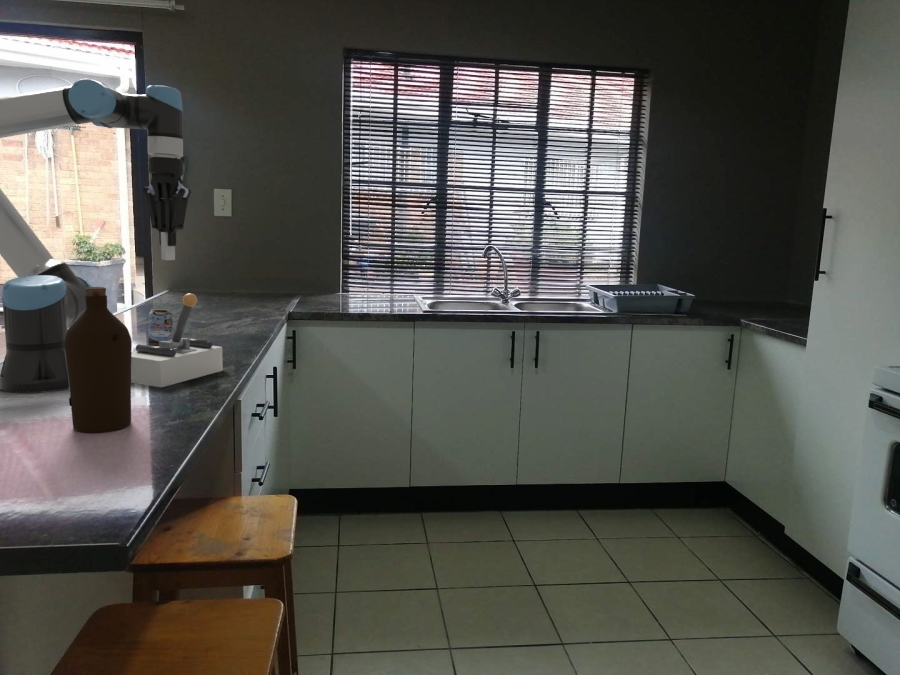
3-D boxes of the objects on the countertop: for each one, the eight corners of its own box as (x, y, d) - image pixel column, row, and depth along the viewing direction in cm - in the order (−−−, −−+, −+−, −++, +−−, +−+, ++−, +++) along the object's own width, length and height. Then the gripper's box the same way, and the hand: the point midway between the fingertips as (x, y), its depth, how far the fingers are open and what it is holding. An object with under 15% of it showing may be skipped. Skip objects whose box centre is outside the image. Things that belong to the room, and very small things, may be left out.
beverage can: (146, 353, 185) (145, 310, 183) (151, 348, 192) (149, 306, 190) (171, 353, 187) (170, 310, 185) (174, 348, 194) (173, 306, 192)
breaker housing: (161, 387, 150) (159, 350, 149) (117, 380, 155) (115, 344, 154) (222, 370, 169) (222, 337, 167) (181, 364, 173) (181, 332, 172)
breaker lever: (172, 351, 160) (191, 298, 155) (162, 345, 161) (181, 291, 156) (183, 349, 163) (202, 296, 159) (174, 342, 164) (192, 290, 159)
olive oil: (145, 418, 128) (139, 286, 124) (117, 435, 117) (110, 292, 113) (89, 415, 128) (81, 283, 124) (56, 433, 117) (47, 289, 113)
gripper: (199, 159, 157) (201, 261, 161) (158, 158, 162) (160, 257, 166) (174, 155, 150) (176, 262, 154) (132, 155, 156) (135, 258, 160)
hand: (168, 259), depth 160 cm, fingers closed
